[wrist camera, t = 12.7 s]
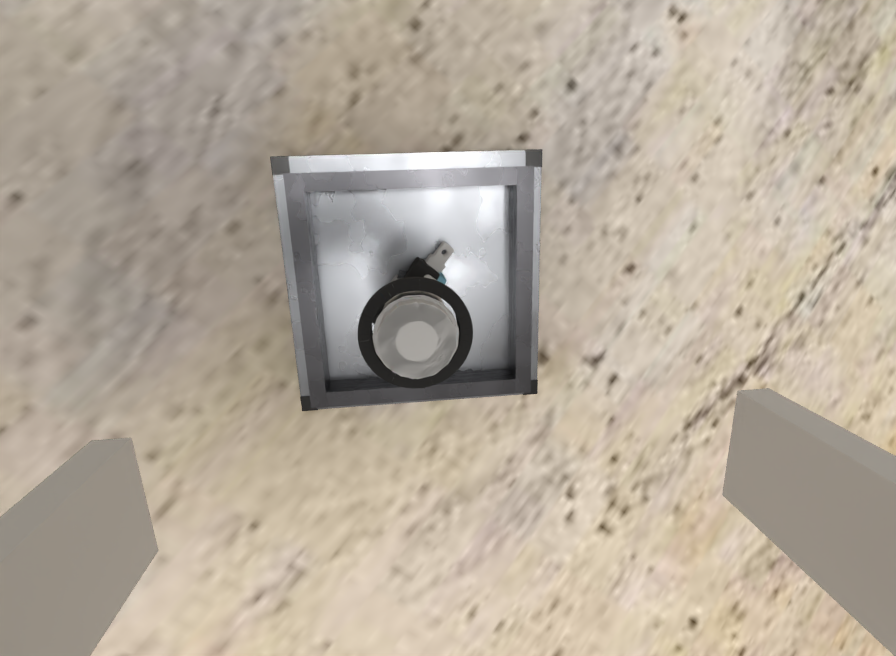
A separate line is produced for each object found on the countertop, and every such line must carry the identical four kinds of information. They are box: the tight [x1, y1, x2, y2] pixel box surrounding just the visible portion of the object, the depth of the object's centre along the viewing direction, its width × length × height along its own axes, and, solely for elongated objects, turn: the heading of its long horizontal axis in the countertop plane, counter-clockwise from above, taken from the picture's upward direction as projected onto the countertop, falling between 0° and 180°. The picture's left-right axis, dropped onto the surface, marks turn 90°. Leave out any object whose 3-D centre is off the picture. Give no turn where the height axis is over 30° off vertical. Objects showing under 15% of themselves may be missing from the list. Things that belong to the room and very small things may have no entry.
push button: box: [358, 241, 473, 389], centre depth 26 cm, size 7×5×10 cm
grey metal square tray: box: [270, 149, 542, 411], centre depth 31 cm, size 16×16×3 cm
